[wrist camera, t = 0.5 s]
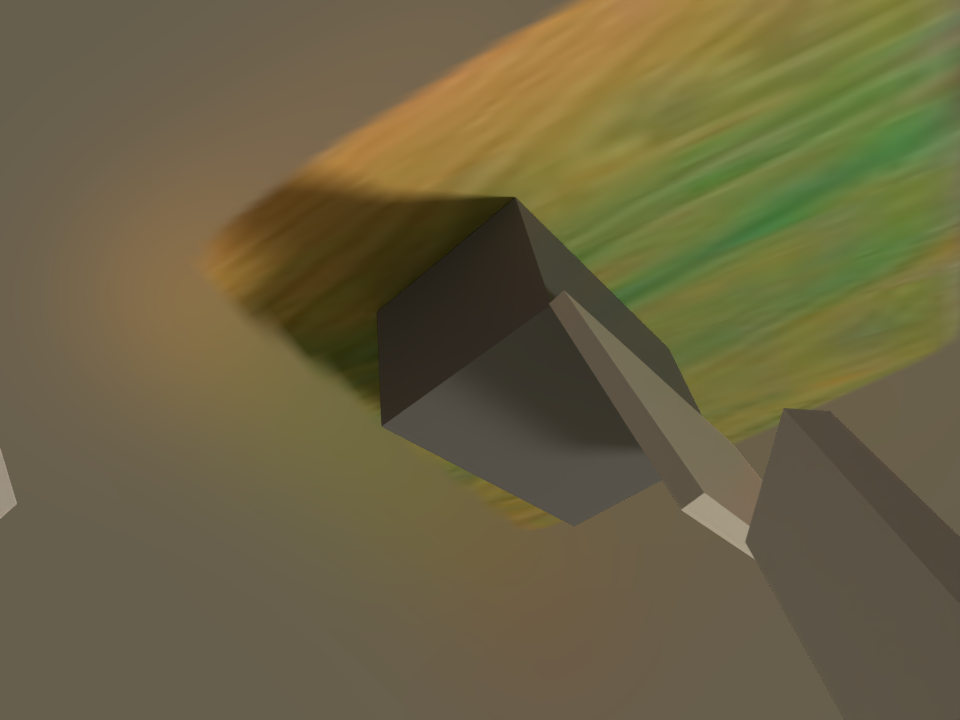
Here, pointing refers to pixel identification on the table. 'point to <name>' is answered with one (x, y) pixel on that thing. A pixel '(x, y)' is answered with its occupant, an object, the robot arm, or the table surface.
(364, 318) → the table surface
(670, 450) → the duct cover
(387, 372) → the box
